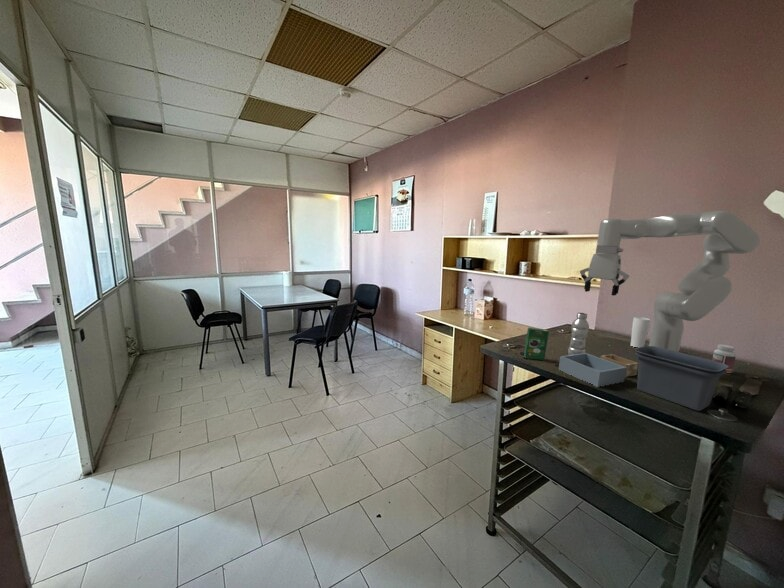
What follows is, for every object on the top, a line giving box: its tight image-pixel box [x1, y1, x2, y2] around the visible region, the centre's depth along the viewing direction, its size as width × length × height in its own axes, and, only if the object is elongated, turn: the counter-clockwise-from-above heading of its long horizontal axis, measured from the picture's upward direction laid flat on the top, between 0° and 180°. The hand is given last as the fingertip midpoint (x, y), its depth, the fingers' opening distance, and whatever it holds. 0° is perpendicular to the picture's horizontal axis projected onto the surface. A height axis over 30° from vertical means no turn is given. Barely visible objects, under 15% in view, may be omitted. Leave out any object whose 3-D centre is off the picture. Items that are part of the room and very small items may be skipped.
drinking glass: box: [630, 316, 652, 348], centre depth 156 cm, size 7×7×15 cm
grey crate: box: [558, 352, 627, 388], centre depth 118 cm, size 15×16×6 cm
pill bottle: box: [711, 343, 737, 373], centre depth 128 cm, size 6×6×11 cm
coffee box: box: [523, 327, 549, 361], centre depth 133 cm, size 8×3×13 cm, turn 80°
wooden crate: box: [600, 353, 638, 378], centre depth 124 cm, size 7×10×5 cm
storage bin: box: [634, 345, 729, 412], centre depth 103 cm, size 21×16×14 cm
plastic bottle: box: [567, 312, 590, 355], centre depth 135 cm, size 6×7×20 cm
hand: (600, 293), depth 128 cm, fingers open, 9 cm apart
